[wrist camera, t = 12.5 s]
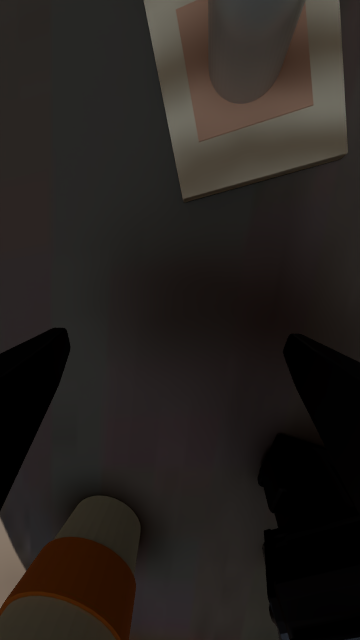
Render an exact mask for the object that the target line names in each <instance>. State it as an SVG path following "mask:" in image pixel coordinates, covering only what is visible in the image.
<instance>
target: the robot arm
mask: <svg viewBox="0 0 360 640" xmlns="http://www.w3.org/2000/svg"><path fill="white" fill-rule="evenodd" d="M69 352H70V342H69V338H68V333H67V330H66V329H65V328H52V329H50V330H48V331H46V332H44V333H42V334H40V335H38V336H36V337H34V338H32V339H30V340H28V341H26V342H23V343H21V344H19V345H17V346H15V347H13V348H11V349H9V350H7V351H5V352H3V353H1V354H0V511H1V508H2V506H3V504H4V502H5V500H6V498H7V496H8V493H9V491H10V489H11V487H12V485H13V483H14V480H15V478H16V476H17V474H18V472H19V470H20V468H21V465H22V463H23V461H24V459H25V457H26V455H27V453H28V450H29V448H30V446H31V444H32V442H33V440H34V437H35V435H36V433H37V431H38V429H39V427H40V425H41V422H42V420H43V418H44V416H45V414H46V412H47V410H48V407H49V405H50V403H51V401H52V399H53V397H54V394H55V392H56V390H57V388H58V386H59V383H60V380H61V377H62V374H63V371H64V368H65V365H66V362H67V359H68V355H69ZM283 354H284V357H285V360H286V363H287V366H288V368H289V371H290V374H291V376H292V379H293V382H294V384H295V386H296V389H297V391H298V393H299V395H300V397H301V399H302V401H303V403H304V405H305V407H306V409H307V411H308V413H309V415H310V417H311V419H312V421H313V423H314V425H315V427H316V429H317V431H318V433H319V435H320V437H321V439H322V441H323V443H324V445H325V447H326V448H325V447H322V446H319V445H315V444H312V443H309V442H306V441H303V440H299V439H296V438H293V437H290V436H286V435H283V434H279V435H277V437H276V439H275V441H274V443H273V445H272V448H271V450H270V451H269V452H268V453H267V455H266V457H265V460H264V462H263V464H262V466H261V468H260V474H259V476H258V483H259V485H260V486H262V487H264V490H265V495H266V499H267V503H268V507H269V509H270V511H271V512H272V513H275V517H276V520H277V524H278V528H277V529H273V530H271V529H268V530H264V540H265V542H264V550H265V565H266V580H267V594H268V600H269V603H270V604H269V612H270V616H271V619H272V621H273V623H274V624H275V625H276V626H277V627H278V629H279V632H280V635H281V638H282V640H360V362H358V361H356V360H354V359H352V358H349V357H347V356H345V355H343V354H341V353H339V352H337V351H335V350H333V349H331V348H329V347H327V346H325V345H323V344H320V343H318V342H316V341H314V340H312V339H310V338H308V337H306V336H304V335H302V334H290V335H289V336H288V339H287V341H286V344H285V347H284V350H283ZM281 439H283V440H282V441H281Z"/></svg>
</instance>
